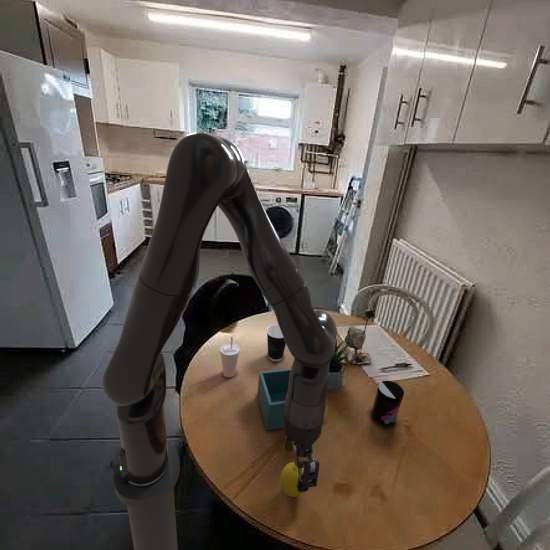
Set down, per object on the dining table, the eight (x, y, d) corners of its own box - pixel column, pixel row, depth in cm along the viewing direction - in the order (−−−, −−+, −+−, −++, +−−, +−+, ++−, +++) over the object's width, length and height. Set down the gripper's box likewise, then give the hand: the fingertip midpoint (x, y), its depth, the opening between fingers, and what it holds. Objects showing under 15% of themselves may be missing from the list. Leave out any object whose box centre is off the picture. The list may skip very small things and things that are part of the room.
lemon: (287, 474, 71) (291, 449, 68) (308, 489, 68) (313, 464, 65) (273, 493, 67) (276, 468, 64) (295, 511, 64) (300, 485, 61)
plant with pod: (340, 348, 118) (349, 301, 110) (371, 355, 115) (382, 308, 107) (338, 361, 110) (348, 312, 103) (371, 368, 108) (383, 319, 100)
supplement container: (374, 426, 85) (382, 397, 81) (368, 407, 92) (375, 379, 88) (398, 428, 85) (407, 399, 81) (391, 409, 92) (399, 381, 88)
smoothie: (242, 376, 99) (244, 339, 94) (224, 383, 96) (225, 345, 90) (233, 364, 104) (234, 329, 99) (215, 370, 101) (216, 334, 95)
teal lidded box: (266, 430, 81) (269, 405, 78) (257, 395, 92) (259, 371, 89) (321, 421, 85) (326, 397, 82) (306, 388, 96) (309, 366, 93)
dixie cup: (264, 364, 106) (266, 337, 101) (263, 349, 113) (265, 324, 109) (287, 364, 106) (290, 337, 102) (285, 350, 114) (288, 324, 110)
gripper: (275, 386, 64) (270, 442, 70) (297, 447, 51) (288, 509, 57) (309, 382, 66) (301, 436, 72) (338, 439, 53) (325, 500, 59)
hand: (295, 468), depth 65 cm, fingers open, 8 cm apart
